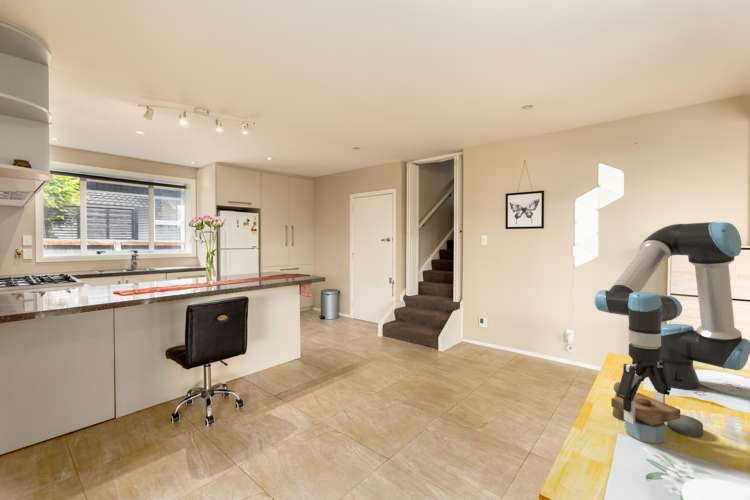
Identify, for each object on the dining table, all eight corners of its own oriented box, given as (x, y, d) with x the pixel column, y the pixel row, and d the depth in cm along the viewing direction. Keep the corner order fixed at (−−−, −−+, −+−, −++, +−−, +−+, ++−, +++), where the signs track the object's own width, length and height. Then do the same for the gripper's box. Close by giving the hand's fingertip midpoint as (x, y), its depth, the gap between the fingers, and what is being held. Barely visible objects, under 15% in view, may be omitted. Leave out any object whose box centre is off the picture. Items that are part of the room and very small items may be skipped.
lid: (638, 400, 108) (638, 389, 108) (680, 418, 97) (680, 406, 97) (611, 406, 105) (611, 395, 105) (651, 425, 94) (651, 412, 94)
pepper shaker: (639, 422, 108) (639, 388, 108) (617, 420, 109) (617, 387, 109) (628, 413, 114) (628, 380, 114) (608, 411, 115) (608, 379, 115)
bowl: (639, 424, 107) (639, 409, 106) (672, 440, 98) (672, 423, 98) (618, 430, 104) (618, 413, 104) (649, 446, 95) (649, 429, 95)
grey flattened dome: (678, 421, 108) (678, 411, 108) (709, 434, 101) (709, 424, 100) (660, 425, 106) (660, 416, 106) (691, 439, 98) (691, 429, 98)
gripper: (659, 337, 107) (659, 405, 108) (602, 346, 100) (602, 418, 101) (686, 344, 100) (686, 417, 101) (627, 353, 93) (627, 432, 94)
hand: (644, 418), depth 101 cm, fingers closed on lid, 11 cm apart
